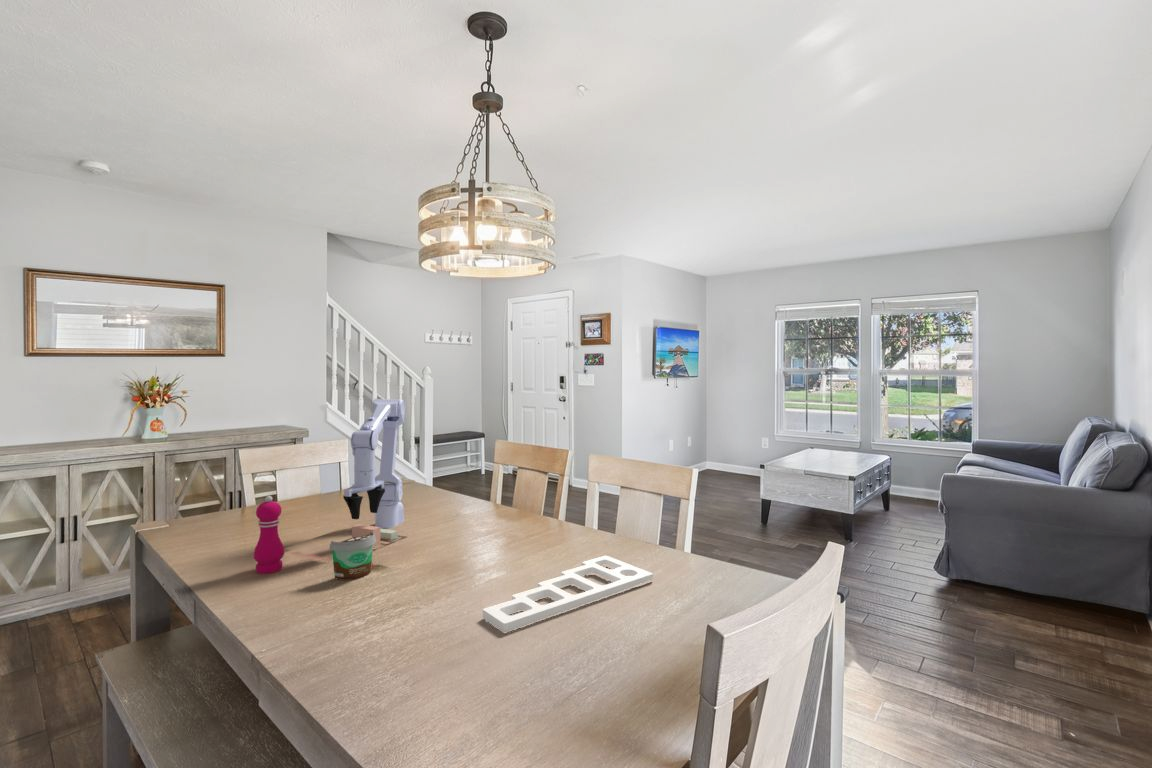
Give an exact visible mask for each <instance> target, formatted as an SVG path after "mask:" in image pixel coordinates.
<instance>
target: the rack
mask: <svg viewBox="0 0 1152 768" xmlns="http://www.w3.org/2000/svg"><path fill="white" fill-rule="evenodd" d="M397 537H398V538H399V539H396V540H394V541H392V540H385V539H380V546H378V547H375V548H373V552H375V551H378V550H380V549H383V548H384V547H387V546H389V545H392V544H395V543H397V542H399V541H401V540H404V539H406V538H407V536H404V535H400V534H399V535H398V534H397ZM383 542H385V543H383ZM386 542H387V543H386Z"/></svg>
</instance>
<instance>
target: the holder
mask: <svg viewBox="0 0 1152 768" xmlns="http://www.w3.org/2000/svg"><path fill="white" fill-rule="evenodd" d="M603 564H608V565H610V566H612V567H615V569H609V568H606V567H603V566H600V565H603ZM591 572H593V573H596V574H599V575H601V576H603V577H605V578H607V579H610V580H612V581H614V582H613V583H610V582H609V583H607V584H604V585H603V584H599V583H597V582H595V581H593V580H590V579H588V578H587V577H582V575H585V574H588V573H591ZM625 575H634V576H625ZM652 579H653V580H654V578H653V572H650V571H648V570H645V569H642V568H640V567H637V566H636V565H632V564H630V563H627V562H624V561H622V560H619V559H618V558H617V559H616V558H615V557H612V556H608V555H602V556H599V557H595V558H592V559H589V560H585V561H582V564H581V566H577V567H572V568H570V569H567V570H562V571H561V574H560V576H557V577H554V578H550V579H547V580H543V581H540V582H538V583H537V587H534V588H531V589H528V590H524V591H522V592H518V593H515V594H512V595H511V600H508V601H504V602H501V603H500V602H499V603H498V604H495V605H490V606H488V607H485V608H484V607H483V609H482V619H483V618H484V619H485V620H487V621H488V622H490V623H491V624H493V625H494V626H496V627H497V628H499V629H500V630H501V631H503V632H507V631H510V630H513V629H515V628H518V627H521V626H524V625H527V624H529V623H532V622H535V621H537V620H540V619H543V618H546V617H548V616H551V615H554V614H557V613H559V612H563V611H565V610H569V609H571V608H574V607H577V606H580V605H582V604H586V603H588V602H591V601H594V600H597V599H600V598H602V597H605V596H608V595H611V594H613V593H617V592H619V591H622V590H624V589H627V588H630V587H633V586H635V585H638V584H640V583H644V582H646V581H648V580H652ZM567 584H575V585H576V586H579V587H580V588H582V589H585V590H586V591H585V592H584V591H582V592H579V593H577V594H573V593H569V592H568V591H567V590H566V591H565V590H564V589H560V588H559V587H561V586H564V585H567ZM546 596H550V597H552V598H554V599H556V600H558V601H552V602H550V603H547V604H546V603H545V604H540V603H539V602H538V601H537V602H535V601H533V600H536V599H539V598H543V597H546ZM518 610H525V611H524V612H518V613H515V614H512V615H507V614H510V613H513V612H516V611H518Z"/></svg>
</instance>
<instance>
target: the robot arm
mask: <svg viewBox="0 0 1152 768" xmlns="http://www.w3.org/2000/svg"><path fill="white" fill-rule="evenodd" d="M405 412H406V405H405V401H404V400H403V399H402V398H398V399H395V398H394V399H388V398H385V399H383V398H382V399H381V398H374V399H373V400H372V403H371V414H372V415H371V416H368V417H367V418H366V419H365V421H364V422H363V424H362V425H360V428H359V430H355V431H353V432H352V433H351V436H350V446H351V450H352V452H351V453H352V456H353V464H354V465H353V468H354V469H353V470H354V471H353V475H354V480H353V482H354V483H353V484H352V486H350V487H348V488H345V489H343V498H342V499H343V500H344V502H345V503H346V505H347V506H348V509H349V513H350V516H351V517H350V518H351V519H352V520H359V519H360V516H361V504H362V501H363V498H364V496H363V495H359V494H361V493H365V492H366V493H367V497H368V501H369V504H368V505H369V511H370V513H374V526H375V527H380V528H381V529H390V528H395V527H396V526H399V525H401V524H403V523H405V508H404V505H403V503H402V502H401V501H402V498H403V496H404V495H403V490H404V489H403V480H402V478H401V477H399V476H398V475H396V474H395V471H396V470H395V469H396V458H397V448H398V447H397V446H398V434H399V433H398V432H399V428H400V426H401V425H403V424H404V420H405V415H406V414H405ZM382 430H383V431H382ZM381 432H382V442H381V443H382V444H381V454H380V464H379V465H380V467H379V474H378V475H376V468H375V467H376V466H375V465H376V460H375V459H376V457H375V455H376V451H375V450H376V449H377V447H378V442H379V437H380V434H381Z"/></svg>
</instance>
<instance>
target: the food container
mask: <svg viewBox="0 0 1152 768" xmlns="http://www.w3.org/2000/svg"><path fill="white" fill-rule="evenodd" d="M375 543H376V538H375V535H374V533H373V532H372V531H370V534H369V535H366V536H362V537H353V538H352V537H350V538H348V539H345V540H343V541H340V542H339V541H334V540H331V541H330V544H329V550H331V554H332V562H333V563H332V564H333V572H334V579H336V578H337V579H336V580H340V579H342V580H341V581H351V580H350V579H352V580H357V579H362V578H364V576H365V577H367V576H369V575H370V574H371V572H372V564H373V563H372V561H373V552H374V551H373V549H374V548H373V544H375ZM369 573H370V574H369ZM361 577H362V578H361Z"/></svg>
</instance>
